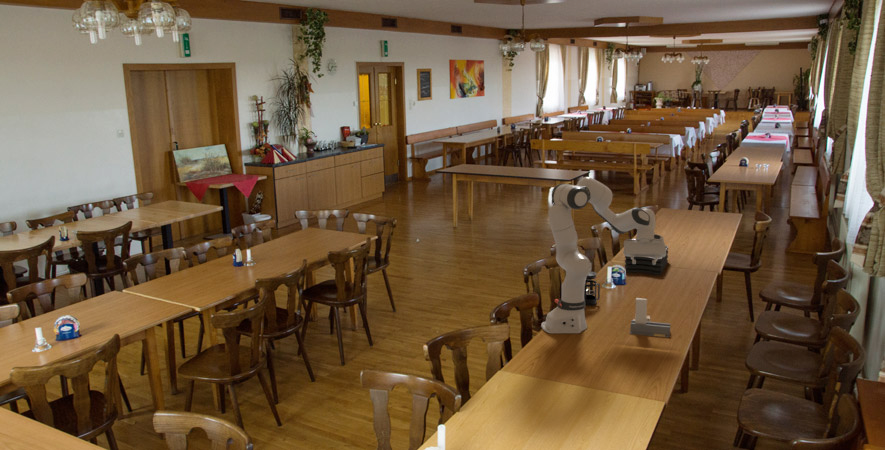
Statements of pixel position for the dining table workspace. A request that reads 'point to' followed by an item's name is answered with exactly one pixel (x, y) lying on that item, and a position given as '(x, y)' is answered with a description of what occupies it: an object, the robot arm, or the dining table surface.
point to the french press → (591, 290)
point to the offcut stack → (646, 319)
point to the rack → (650, 329)
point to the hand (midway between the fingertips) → (643, 263)
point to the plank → (641, 311)
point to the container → (646, 264)
